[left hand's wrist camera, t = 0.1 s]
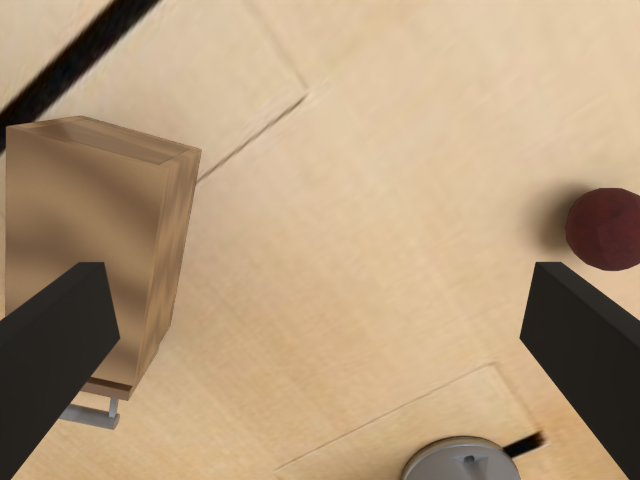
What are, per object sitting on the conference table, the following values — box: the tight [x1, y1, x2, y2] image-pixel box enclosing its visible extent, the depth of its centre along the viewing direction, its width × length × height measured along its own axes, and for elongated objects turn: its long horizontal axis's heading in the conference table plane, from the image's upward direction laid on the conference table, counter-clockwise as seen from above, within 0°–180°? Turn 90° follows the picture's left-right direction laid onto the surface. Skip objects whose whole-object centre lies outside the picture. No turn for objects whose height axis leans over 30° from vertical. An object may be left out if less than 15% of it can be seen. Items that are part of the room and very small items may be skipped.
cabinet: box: [5, 116, 202, 386], centre depth 37 cm, size 21×11×10 cm, turn 164°
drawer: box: [59, 345, 159, 430], centre depth 39 cm, size 26×10×8 cm, turn 164°
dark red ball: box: [565, 188, 640, 271], centre depth 37 cm, size 7×8×7 cm
